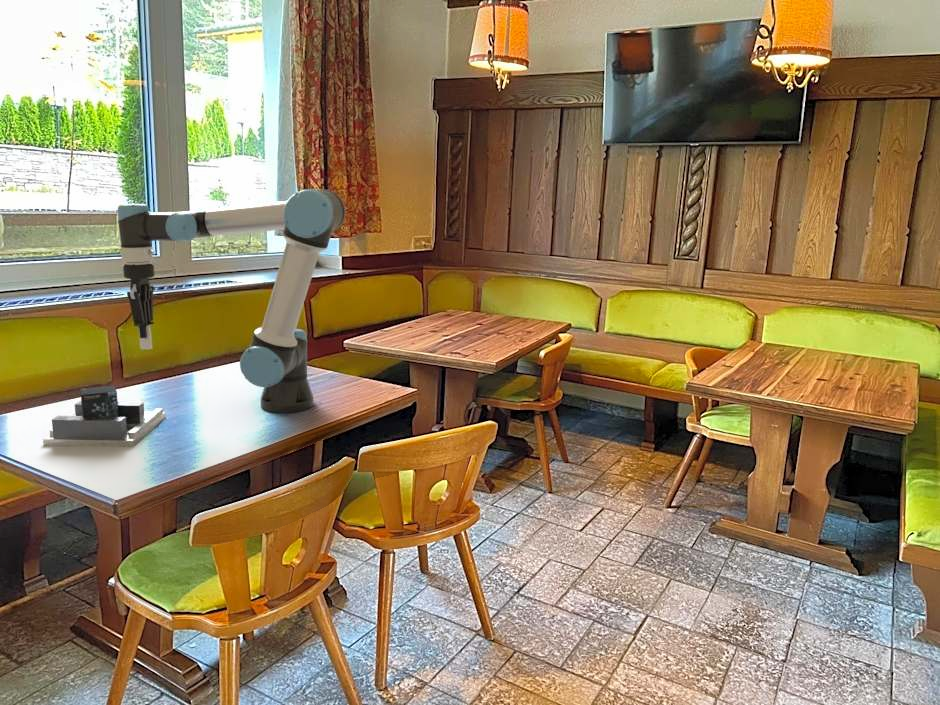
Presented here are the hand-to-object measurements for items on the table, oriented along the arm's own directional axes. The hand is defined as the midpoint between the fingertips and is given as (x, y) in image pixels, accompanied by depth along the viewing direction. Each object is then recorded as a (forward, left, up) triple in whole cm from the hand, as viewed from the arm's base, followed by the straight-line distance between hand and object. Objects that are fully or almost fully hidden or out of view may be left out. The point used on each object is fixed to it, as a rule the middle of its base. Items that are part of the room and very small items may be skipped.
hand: (146, 348), depth 193 cm
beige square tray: (+4, +16, -18) cm, 25 cm away
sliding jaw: (+4, +15, -16) cm, 22 cm away
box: (+4, +20, -17) cm, 27 cm away
